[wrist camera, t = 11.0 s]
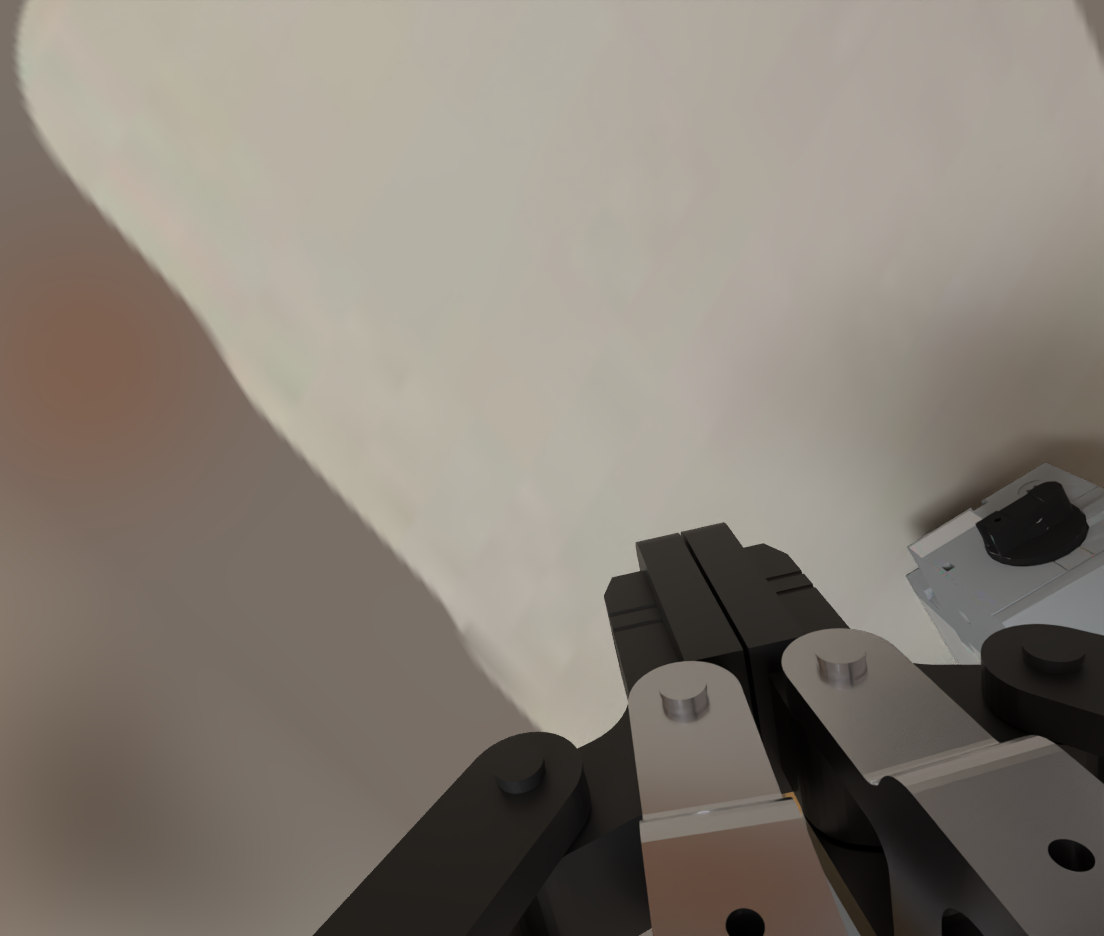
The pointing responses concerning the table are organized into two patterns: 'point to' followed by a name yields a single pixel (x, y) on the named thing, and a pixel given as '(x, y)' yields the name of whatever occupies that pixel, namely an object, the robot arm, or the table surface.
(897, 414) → the table surface
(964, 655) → the circuit breaker
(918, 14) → the table surface
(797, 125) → the table surface
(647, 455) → the table surface
